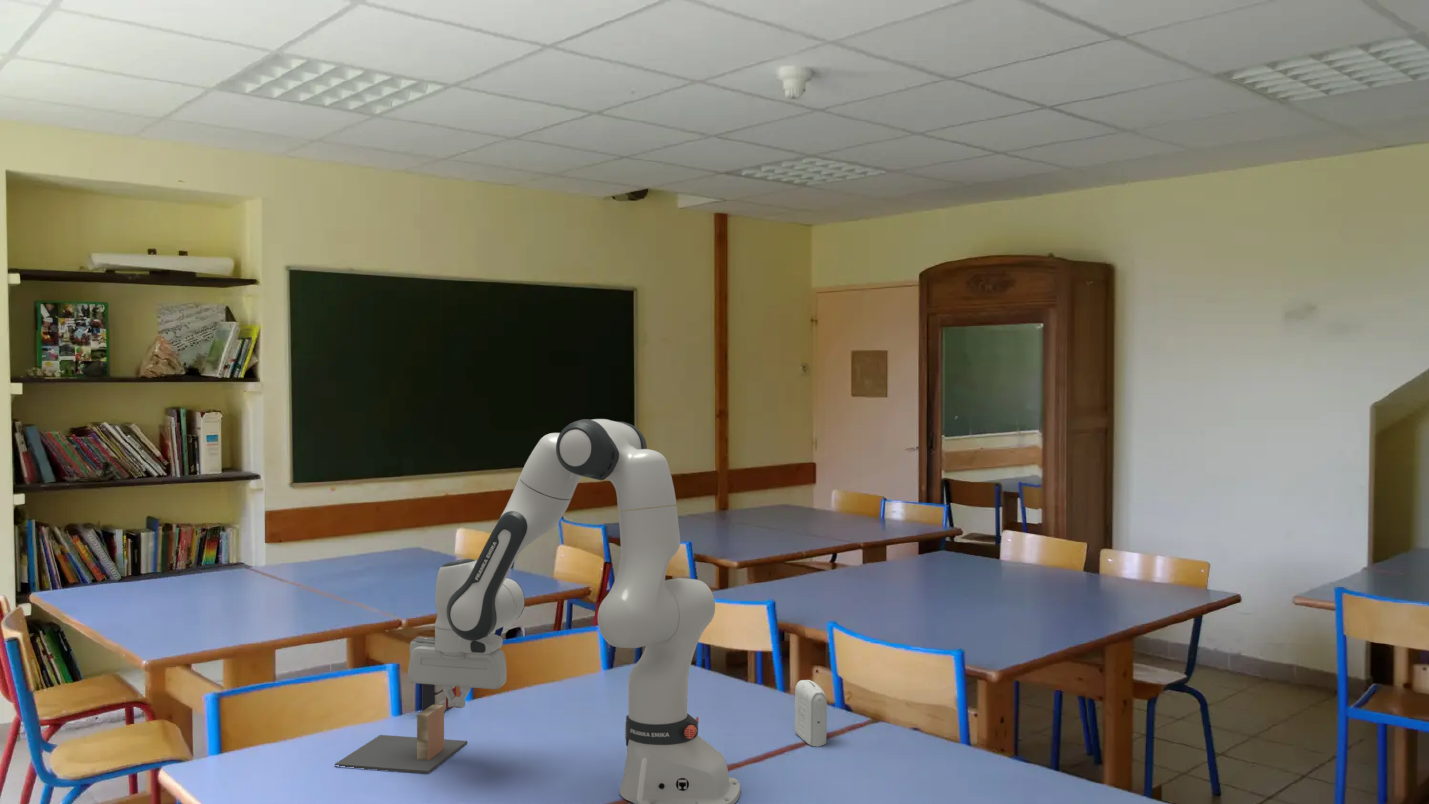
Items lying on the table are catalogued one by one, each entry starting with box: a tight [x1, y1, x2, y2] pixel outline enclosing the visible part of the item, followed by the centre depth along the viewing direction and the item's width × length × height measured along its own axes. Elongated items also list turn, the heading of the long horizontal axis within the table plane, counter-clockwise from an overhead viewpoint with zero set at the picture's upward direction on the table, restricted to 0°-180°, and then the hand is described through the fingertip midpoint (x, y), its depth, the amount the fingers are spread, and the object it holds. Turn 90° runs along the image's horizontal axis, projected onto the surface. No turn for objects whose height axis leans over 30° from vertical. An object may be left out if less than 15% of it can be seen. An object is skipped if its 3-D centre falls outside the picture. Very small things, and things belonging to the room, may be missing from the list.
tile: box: [416, 705, 445, 760], centre depth 214 cm, size 2×7×9 cm, turn 169°
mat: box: [334, 734, 468, 775], centre depth 215 cm, size 20×18×1 cm
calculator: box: [421, 684, 457, 712], centre depth 245 cm, size 11×4×15 cm, turn 168°
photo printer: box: [794, 679, 828, 747], centre depth 225 cm, size 10×4×12 cm, turn 17°
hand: (456, 706), depth 213 cm, fingers closed
